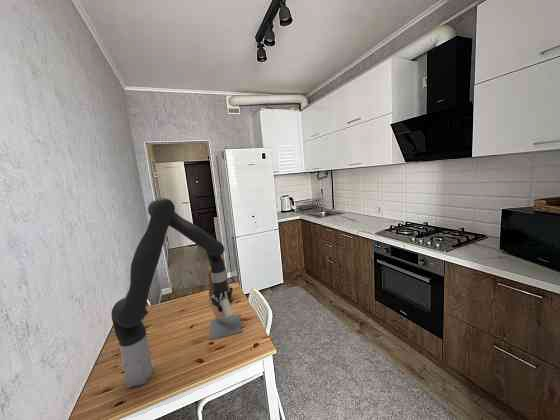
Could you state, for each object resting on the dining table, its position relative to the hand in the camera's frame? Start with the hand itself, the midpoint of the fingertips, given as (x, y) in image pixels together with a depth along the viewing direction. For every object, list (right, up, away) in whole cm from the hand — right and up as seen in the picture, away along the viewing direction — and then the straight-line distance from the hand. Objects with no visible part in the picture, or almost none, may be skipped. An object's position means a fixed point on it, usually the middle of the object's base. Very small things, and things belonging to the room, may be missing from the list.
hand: (223, 309), depth 119 cm
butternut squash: (-8, -7, +27) cm, 29 cm away
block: (-5, -3, +5) cm, 8 cm away
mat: (+1, -9, +1) cm, 10 cm away
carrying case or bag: (-56, -13, +16) cm, 60 cm away
